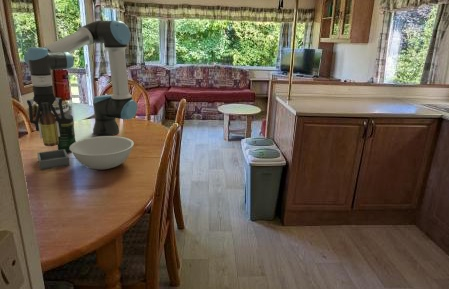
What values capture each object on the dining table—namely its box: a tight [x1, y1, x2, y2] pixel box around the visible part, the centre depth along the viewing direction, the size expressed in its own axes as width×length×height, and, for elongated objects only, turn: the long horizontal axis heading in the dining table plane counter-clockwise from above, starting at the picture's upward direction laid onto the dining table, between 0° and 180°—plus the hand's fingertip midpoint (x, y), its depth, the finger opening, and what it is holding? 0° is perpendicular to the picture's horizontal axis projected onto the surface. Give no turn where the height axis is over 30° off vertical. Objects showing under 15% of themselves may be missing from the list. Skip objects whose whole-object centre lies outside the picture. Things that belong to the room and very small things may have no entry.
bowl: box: [69, 135, 135, 170], centre depth 143 cm, size 27×27×10 cm
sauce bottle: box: [39, 102, 59, 147], centre depth 139 cm, size 7×6×20 cm
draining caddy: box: [37, 149, 70, 171], centre depth 144 cm, size 12×13×4 cm
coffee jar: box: [55, 113, 77, 153], centre depth 159 cm, size 10×8×19 cm
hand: (50, 136), depth 141 cm, fingers closed on sauce bottle, 6 cm apart
